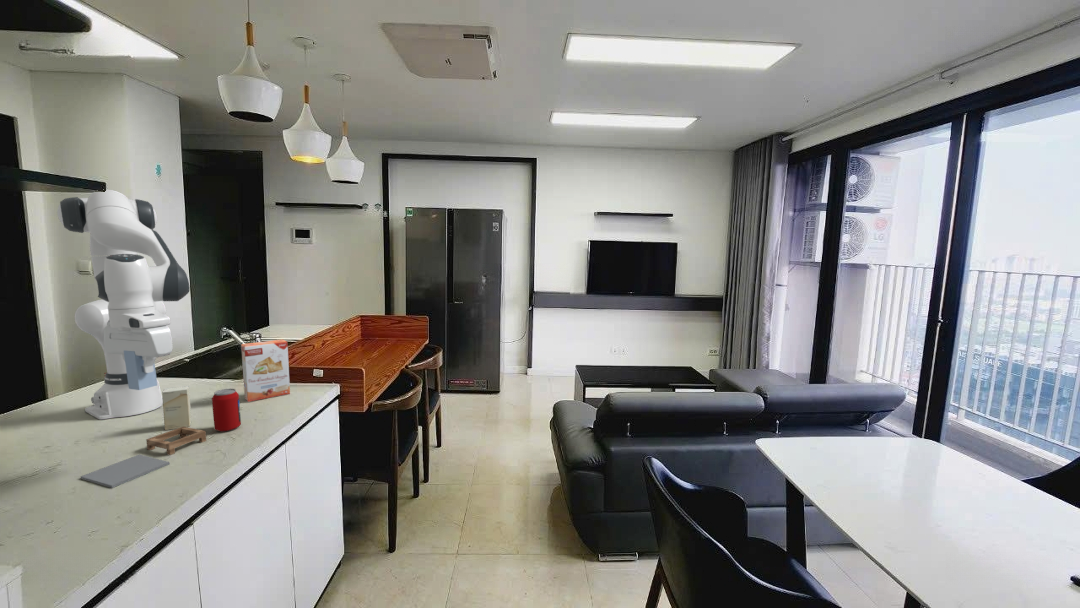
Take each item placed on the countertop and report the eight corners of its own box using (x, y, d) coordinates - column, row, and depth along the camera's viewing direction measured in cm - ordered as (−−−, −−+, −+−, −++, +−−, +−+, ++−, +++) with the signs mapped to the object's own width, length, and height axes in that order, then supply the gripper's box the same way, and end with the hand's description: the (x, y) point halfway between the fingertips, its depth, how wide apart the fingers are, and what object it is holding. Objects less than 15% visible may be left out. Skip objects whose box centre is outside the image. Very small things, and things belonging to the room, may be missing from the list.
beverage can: (246, 424, 138) (243, 388, 137) (229, 433, 131) (226, 395, 130) (226, 423, 139) (223, 387, 137) (208, 432, 132) (205, 394, 131)
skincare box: (164, 430, 133) (160, 392, 131) (167, 425, 137) (163, 388, 135) (190, 426, 136) (187, 389, 135) (192, 421, 140) (189, 385, 138)
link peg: (128, 388, 111) (123, 350, 110) (147, 384, 115) (142, 347, 114) (139, 390, 110) (134, 351, 109) (157, 385, 114) (152, 347, 112)
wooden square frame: (147, 449, 121) (146, 439, 120) (184, 436, 129) (183, 426, 129) (170, 455, 118) (169, 444, 117) (206, 440, 126) (205, 431, 126)
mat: (80, 478, 105) (80, 476, 105) (139, 456, 117) (139, 454, 117) (111, 487, 101) (111, 485, 101) (169, 464, 113) (169, 461, 113)
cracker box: (248, 402, 157) (243, 346, 155) (244, 398, 162) (240, 343, 159) (291, 394, 167) (287, 340, 164) (286, 390, 171) (283, 338, 169)
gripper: (91, 319, 110) (99, 372, 112) (146, 322, 104) (153, 378, 106) (121, 315, 116) (128, 365, 118) (175, 318, 110) (181, 371, 112)
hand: (140, 371), depth 112 cm, fingers closed on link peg, 4 cm apart
